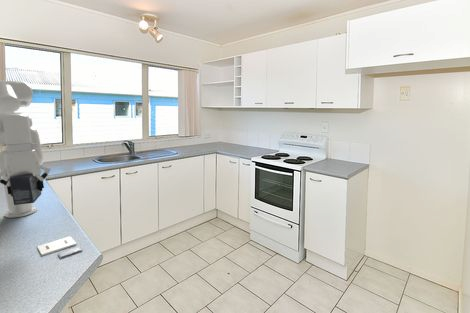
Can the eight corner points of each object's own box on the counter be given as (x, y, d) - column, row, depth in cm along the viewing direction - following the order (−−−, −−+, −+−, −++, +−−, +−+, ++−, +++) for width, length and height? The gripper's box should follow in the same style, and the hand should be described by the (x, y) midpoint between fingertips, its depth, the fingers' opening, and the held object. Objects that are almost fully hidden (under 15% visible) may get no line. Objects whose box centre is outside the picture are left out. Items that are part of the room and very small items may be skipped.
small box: (22, 196, 109) (18, 170, 107) (41, 194, 111) (38, 169, 109) (12, 205, 99) (7, 177, 97) (34, 203, 102) (29, 175, 99)
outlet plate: (37, 247, 103) (37, 245, 103) (70, 237, 110) (70, 236, 110) (41, 255, 97) (41, 254, 97) (76, 244, 105) (76, 243, 105)
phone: (57, 256, 98) (57, 253, 97) (79, 249, 103) (78, 246, 102) (60, 260, 95) (60, 257, 95) (82, 252, 100) (82, 249, 100)
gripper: (45, 144, 110) (51, 186, 113) (-13, 149, 98) (-4, 196, 101) (49, 146, 104) (55, 190, 108) (-11, 152, 93) (-2, 201, 96)
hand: (26, 192), depth 105 cm, fingers closed on small box, 8 cm apart
